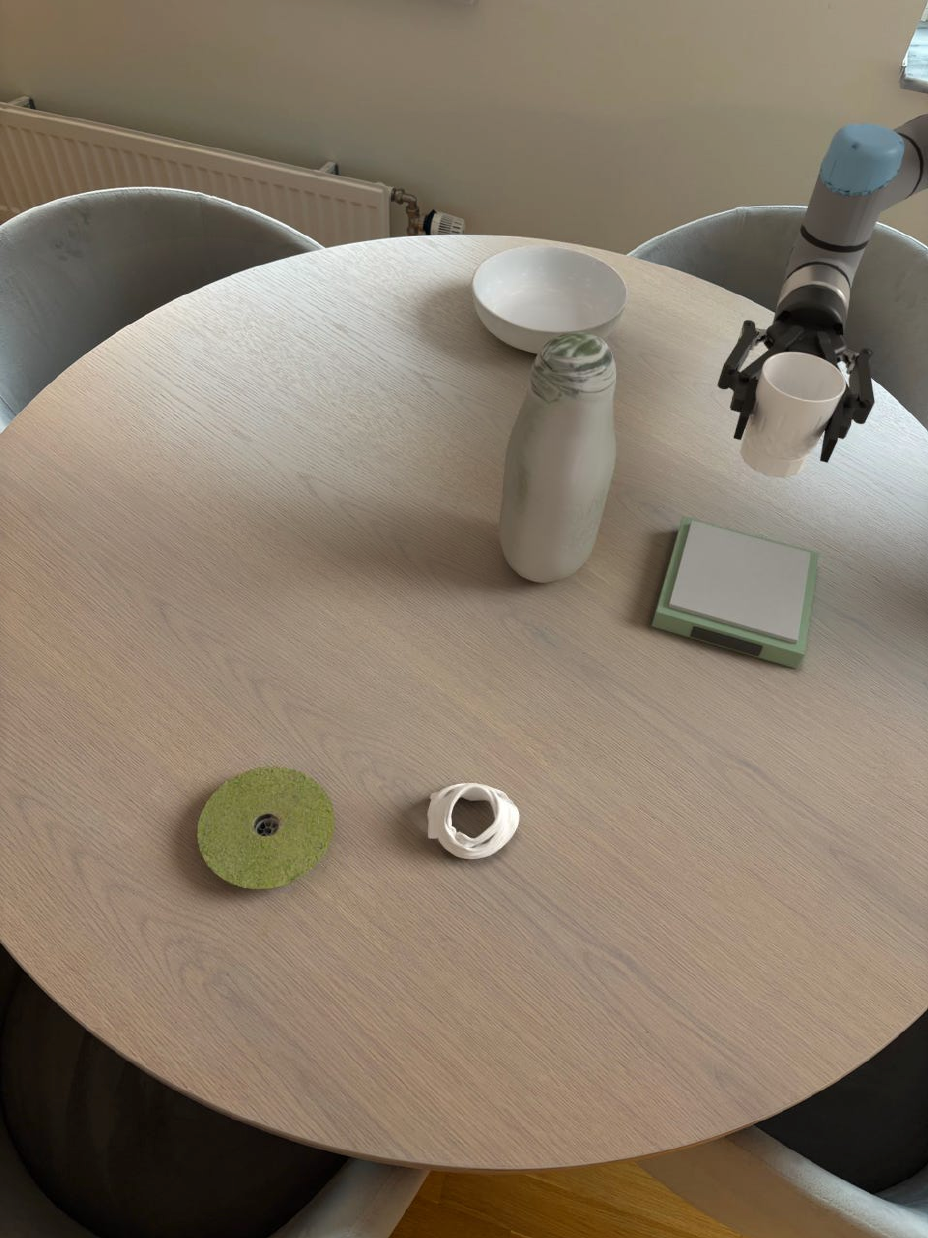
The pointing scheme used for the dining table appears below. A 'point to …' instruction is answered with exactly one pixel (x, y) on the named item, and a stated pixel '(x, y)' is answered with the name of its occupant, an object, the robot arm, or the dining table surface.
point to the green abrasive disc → (265, 827)
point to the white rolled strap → (460, 842)
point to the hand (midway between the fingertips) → (784, 439)
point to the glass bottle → (559, 459)
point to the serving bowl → (547, 295)
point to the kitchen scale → (738, 592)
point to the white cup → (790, 412)
